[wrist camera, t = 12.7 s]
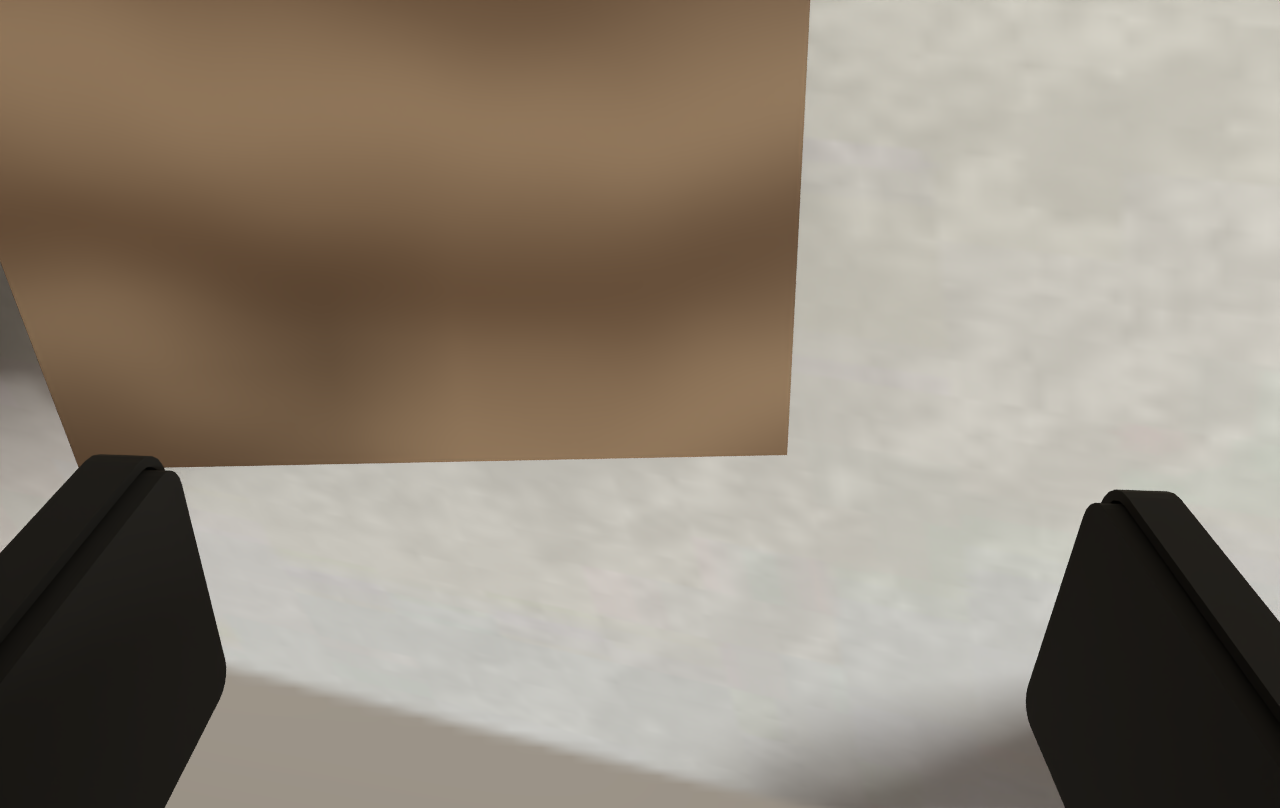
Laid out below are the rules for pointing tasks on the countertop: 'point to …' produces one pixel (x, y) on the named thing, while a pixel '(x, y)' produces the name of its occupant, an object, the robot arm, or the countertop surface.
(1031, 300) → the countertop surface
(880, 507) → the countertop surface
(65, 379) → the slab
